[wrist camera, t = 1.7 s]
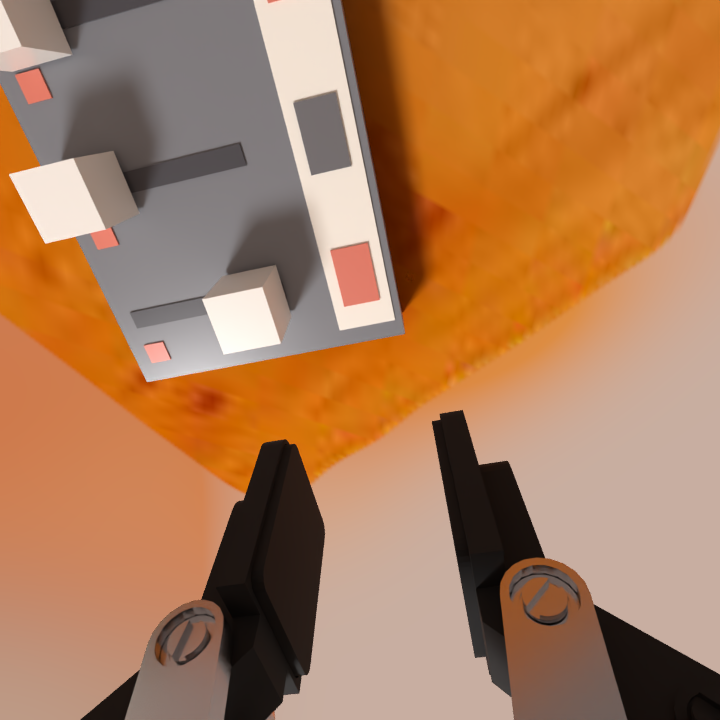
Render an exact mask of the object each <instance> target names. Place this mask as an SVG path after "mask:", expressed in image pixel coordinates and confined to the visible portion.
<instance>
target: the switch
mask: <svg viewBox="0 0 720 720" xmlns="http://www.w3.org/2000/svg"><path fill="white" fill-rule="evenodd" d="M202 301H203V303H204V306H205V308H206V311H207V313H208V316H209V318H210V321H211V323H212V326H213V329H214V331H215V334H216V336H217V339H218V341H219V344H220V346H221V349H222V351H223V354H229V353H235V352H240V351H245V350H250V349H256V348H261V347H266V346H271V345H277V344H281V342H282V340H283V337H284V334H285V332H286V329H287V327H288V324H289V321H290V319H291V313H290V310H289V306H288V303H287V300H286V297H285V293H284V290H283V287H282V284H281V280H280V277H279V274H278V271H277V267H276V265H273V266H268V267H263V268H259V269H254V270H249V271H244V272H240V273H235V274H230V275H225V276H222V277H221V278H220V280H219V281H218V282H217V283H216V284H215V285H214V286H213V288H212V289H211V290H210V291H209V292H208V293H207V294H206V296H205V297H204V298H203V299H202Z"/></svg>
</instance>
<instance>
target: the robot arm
mask: <svg viewBox="0 0 720 720" xmlns="http://www.w3.org/2000/svg"><path fill="white" fill-rule="evenodd" d="M440 419H441V420H437V421H432V425H433V430H434V436H435V441H436V446H437V452H438V458H439V463H440V469H441V473H442V480H443V485H444V491H445V496H446V502H447V507H448V513H449V518H450V523H451V529H452V535H453V540H454V546H455V551H456V556H457V562H458V567H459V572H460V578H461V583H462V589H463V594H464V600H465V605H466V611H467V616H468V622H469V627H470V632H471V638H472V644H473V649H474V654H475V658H477V657H486V660H487V665H488V670H489V674H490V675H491V679H492V682H493V683H494V684H495V685H496V686H498V687H499V688H500V689H501V690H503V691H504V692H505V693H507V694H508V695H509V696H510V697H512V706H513V714H514V720H720V674H718V673H716V672H715V671H713V670H711V669H709V668H707V667H705V666H704V665H702V664H700V663H698V662H696V661H695V660H693V659H691V658H689V657H688V656H686V655H684V654H682V653H680V652H678V651H677V650H675V649H673V648H671V647H669V646H668V645H666V644H664V643H662V642H660V641H659V640H657V639H655V638H653V637H652V636H650V635H648V634H646V633H644V632H642V631H641V630H639V629H637V628H635V627H634V626H632V625H630V624H628V623H626V622H624V621H623V620H621V619H619V618H617V617H616V616H614V615H612V614H610V613H608V612H607V611H605V610H603V609H601V608H599V607H598V606H596V605H594V604H593V601H592V597H591V594H590V592H589V590H588V588H587V585H586V583H585V581H584V580H583V579H582V578H581V577H580V576H579V575H578V574H577V573H576V572H575V571H574V570H573V569H571V568H569V567H568V566H566V565H565V564H563V563H560V562H558V561H555V560H552V559H546V558H545V556H544V554H543V551H542V548H541V546H540V544H539V540H538V538H537V535H536V533H535V530H534V527H533V525H532V522H531V519H530V517H529V514H528V511H527V509H526V506H525V503H524V501H523V498H522V496H521V493H520V490H519V488H518V485H517V482H516V480H515V477H514V474H513V472H512V469H511V467H510V464H509V462H508V461H503V462H496V463H489V464H482V465H479V464H478V461H477V458H476V454H475V450H474V448H473V444H472V440H471V437H470V433H469V430H468V426H467V423H466V420H465V416H464V413H463V410H460V411H454V412H448V413H442V414H440ZM324 538H325V529H324V523H323V519H322V517H321V514H320V511H319V508H318V505H317V502H316V500H315V497H314V494H313V491H312V488H311V485H310V482H309V479H308V477H307V474H306V471H305V468H304V465H303V462H302V459H301V457H300V454H299V451H298V448H297V446H296V445H295V444H290V445H289V442H288V441H287V440H285V439H284V440H278V441H272V442H266V443H263V444H262V446H261V449H260V452H259V455H258V458H257V461H256V464H255V468H254V471H253V474H252V477H251V480H250V483H249V486H248V489H247V492H246V495H245V498H244V500H243V501H238V502H237V503H236V504H235V505H234V508H233V510H232V513H231V515H230V518H229V521H228V524H227V527H226V530H225V533H224V536H223V539H222V542H221V544H220V547H219V550H218V553H217V556H216V559H215V562H214V564H213V567H212V570H211V573H210V576H209V579H208V582H207V585H206V588H205V590H204V593H203V596H202V599H201V600H195V601H191V602H189V603H186V604H183V605H181V606H180V607H178V608H176V609H175V610H173V611H172V612H170V613H169V614H168V615H167V616H166V617H165V618H164V619H163V620H162V621H161V622H160V624H159V625H158V626H157V628H156V629H155V630H154V632H153V633H152V636H151V638H150V640H149V642H148V645H147V648H146V651H145V654H144V658H143V661H142V664H141V668H140V670H139V671H138V672H136V673H135V674H134V675H133V676H132V677H131V678H129V679H128V680H127V681H126V682H125V683H124V684H122V685H121V686H120V687H119V688H118V689H117V690H115V691H114V692H113V693H112V694H110V695H109V696H108V697H107V698H106V699H104V700H103V701H102V702H101V703H100V704H99V705H97V706H96V707H95V708H94V709H93V710H92V711H90V712H89V713H88V714H87V715H85V716H84V717H83V718H82V719H81V720H275V712H274V711H275V710H276V708H277V707H278V706H279V705H280V704H281V703H282V702H283V695H288V694H298V693H299V691H300V684H301V676H302V675H307V674H308V673H309V670H310V664H311V655H312V646H313V637H314V628H315V619H316V610H317V602H318V593H319V584H320V575H321V566H322V557H323V548H324Z"/></svg>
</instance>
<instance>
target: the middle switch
mask: <svg viewBox="0 0 720 720" xmlns="http://www.w3.org/2000/svg"><path fill="white" fill-rule="evenodd" d="M9 175H10V177H11V179H12V181H13V183H14V185H15V187H16V189H17V191H18V192H19V194H20V196H21V198H22V200H23V202H24V204H25V206H26V208H27V210H28V212H29V213H30V215H31V217H32V219H33V221H34V223H35V225H36V227H37V229H38V231H39V232H40V234H41V236H42V238H43V240H44V242H45V243H50V242H54V241H58V240H63V239H67V238H71V237H76V236H80V235H84V234H89V233H93V232H97V231H102V230H106V229H108V228H110V227H112V226H114V225H117V224H119V223H121V222H123V221H125V220H127V219H129V218H131V217H133V216H136V215H138V214H140V213H139V211H138V208H137V206H136V204H135V201H134V199H133V196H132V194H131V192H130V189H129V187H128V185H127V182H126V180H125V177H124V175H123V173H122V170H121V168H120V166H119V163H118V161H117V158H116V156H115V154H114V151H110V152H104V153H99V154H93V155H88V156H82V157H77V158H72V159H68V160H64V161H60V162H56V163H52V164H48V165H44V166H40V167H36V168H32V169H28V170H24V171H21V172H17V173H13V174H9Z"/></svg>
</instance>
